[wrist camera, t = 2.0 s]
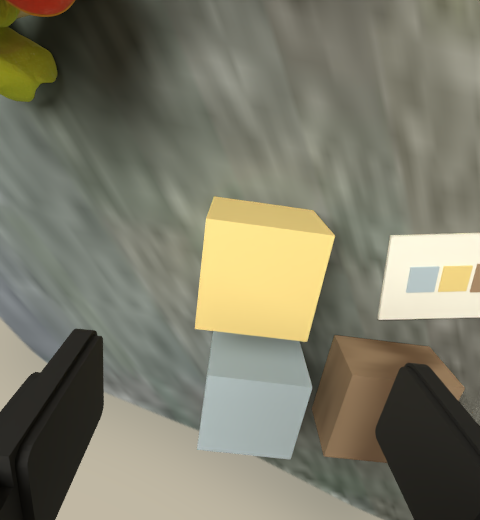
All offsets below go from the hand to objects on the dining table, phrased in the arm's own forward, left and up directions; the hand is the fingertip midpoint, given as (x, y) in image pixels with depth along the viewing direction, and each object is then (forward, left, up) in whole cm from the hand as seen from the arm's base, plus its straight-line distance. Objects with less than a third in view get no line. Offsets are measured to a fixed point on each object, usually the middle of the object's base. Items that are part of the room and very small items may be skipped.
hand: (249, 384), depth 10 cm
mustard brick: (-1, 0, -12) cm, 11 cm away
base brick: (-11, +9, -11) cm, 18 cm away
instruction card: (-14, 0, -11) cm, 18 cm away
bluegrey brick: (-2, +9, -12) cm, 14 cm away
